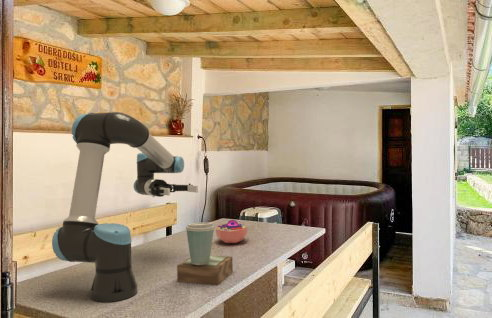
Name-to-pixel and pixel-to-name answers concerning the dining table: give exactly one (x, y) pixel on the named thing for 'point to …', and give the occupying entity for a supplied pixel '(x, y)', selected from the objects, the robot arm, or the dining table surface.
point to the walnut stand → (205, 270)
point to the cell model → (231, 232)
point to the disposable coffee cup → (200, 242)
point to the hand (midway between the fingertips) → (183, 190)
